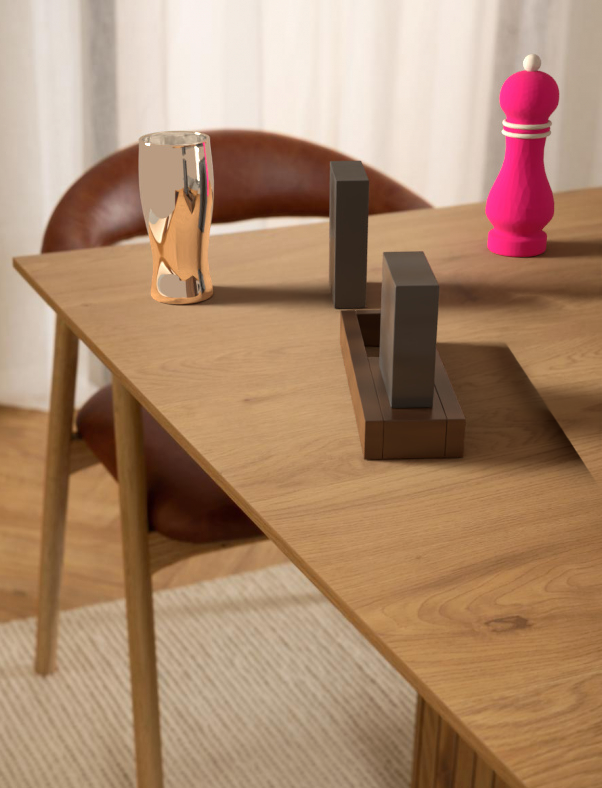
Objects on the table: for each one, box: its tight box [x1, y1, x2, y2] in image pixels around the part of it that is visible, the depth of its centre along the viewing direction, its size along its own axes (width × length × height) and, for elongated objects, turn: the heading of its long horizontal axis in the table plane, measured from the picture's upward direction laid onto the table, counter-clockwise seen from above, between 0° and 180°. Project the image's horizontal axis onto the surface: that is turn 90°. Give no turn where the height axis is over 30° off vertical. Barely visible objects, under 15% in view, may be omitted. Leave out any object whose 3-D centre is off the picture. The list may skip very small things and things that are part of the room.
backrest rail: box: [339, 250, 466, 460], centre depth 91 cm, size 23×7×12 cm, turn 2°
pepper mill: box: [484, 53, 560, 258], centre depth 123 cm, size 7×7×20 cm
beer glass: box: [138, 130, 215, 305], centre depth 112 cm, size 7×7×15 cm
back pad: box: [328, 160, 370, 309], centre depth 112 cm, size 8×3×12 cm, turn 2°
